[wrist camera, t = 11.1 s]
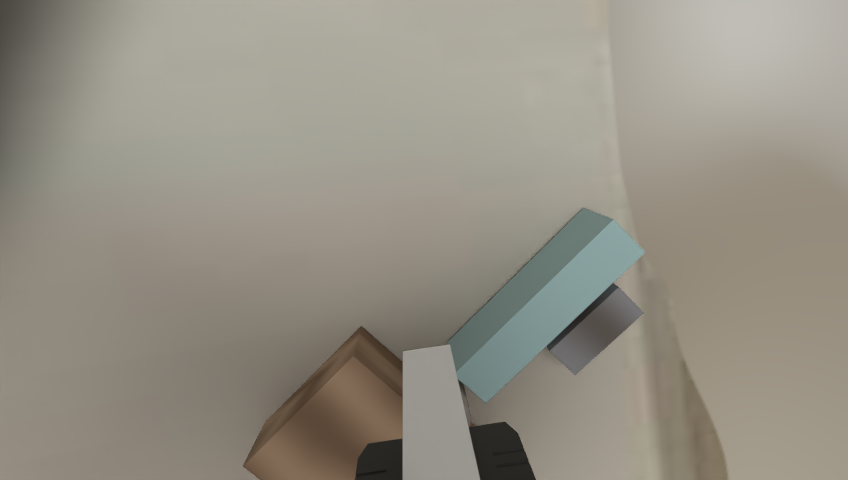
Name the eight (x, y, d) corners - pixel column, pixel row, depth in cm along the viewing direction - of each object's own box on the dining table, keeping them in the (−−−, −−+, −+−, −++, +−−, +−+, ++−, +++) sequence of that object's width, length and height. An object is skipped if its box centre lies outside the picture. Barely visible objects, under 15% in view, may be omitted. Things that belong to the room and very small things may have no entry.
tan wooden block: (395, 526, 39) (392, 608, 32) (264, 422, 37) (231, 487, 30) (632, 310, 36) (685, 351, 29) (505, 181, 33) (530, 192, 26)
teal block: (475, 367, 36) (485, 403, 31) (447, 342, 35) (453, 374, 30) (611, 235, 34) (645, 252, 29) (583, 207, 34) (613, 219, 29)
